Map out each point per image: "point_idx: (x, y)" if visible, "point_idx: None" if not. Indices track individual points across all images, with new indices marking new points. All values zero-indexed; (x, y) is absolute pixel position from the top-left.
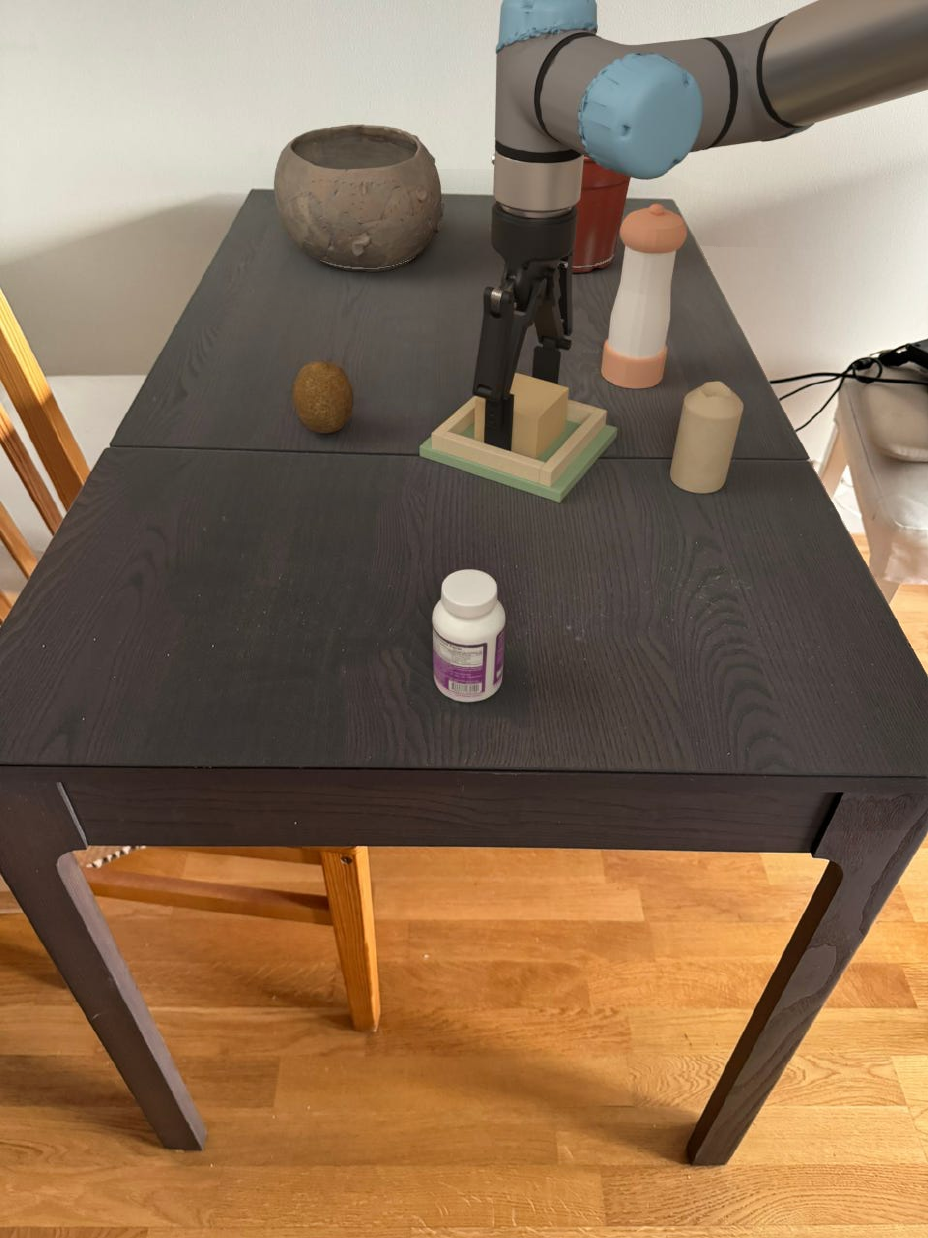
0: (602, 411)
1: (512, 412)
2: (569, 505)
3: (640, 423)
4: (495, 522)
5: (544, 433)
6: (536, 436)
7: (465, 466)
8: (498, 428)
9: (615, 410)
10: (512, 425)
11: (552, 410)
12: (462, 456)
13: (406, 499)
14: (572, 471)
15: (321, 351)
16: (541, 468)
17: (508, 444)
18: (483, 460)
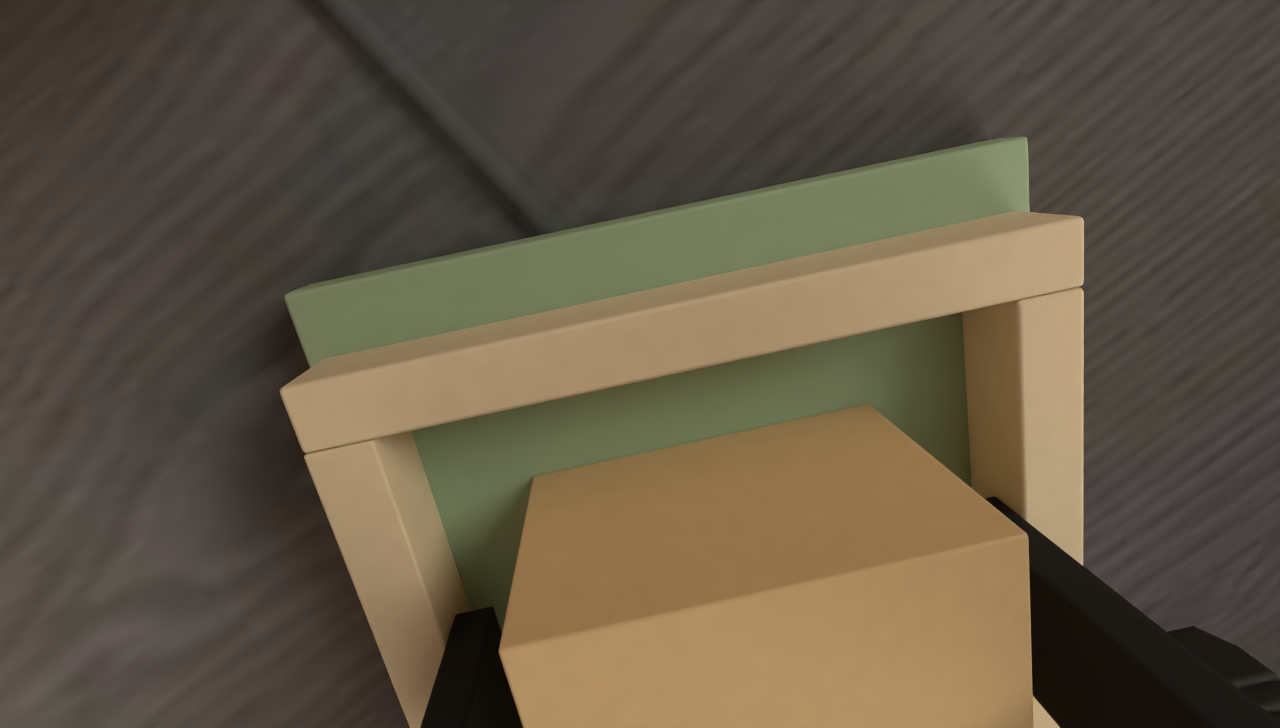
0: (312, 403)
1: (1172, 680)
2: (976, 92)
3: (84, 272)
4: (1254, 267)
5: (823, 472)
6: (944, 467)
7: None
8: (1204, 633)
9: (104, 443)
10: (1076, 607)
11: (766, 554)
12: None
13: (1271, 599)
14: (822, 214)
15: None
16: (1080, 281)
17: (1038, 534)
18: None
